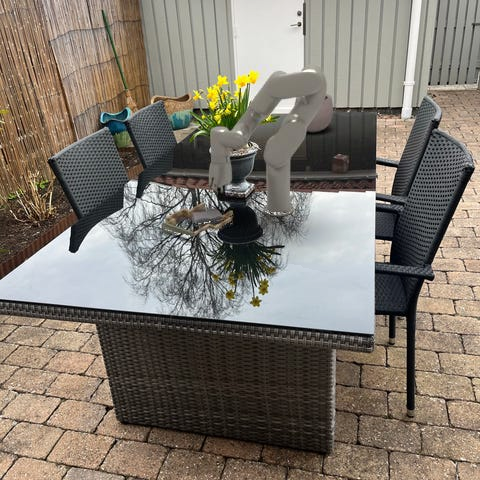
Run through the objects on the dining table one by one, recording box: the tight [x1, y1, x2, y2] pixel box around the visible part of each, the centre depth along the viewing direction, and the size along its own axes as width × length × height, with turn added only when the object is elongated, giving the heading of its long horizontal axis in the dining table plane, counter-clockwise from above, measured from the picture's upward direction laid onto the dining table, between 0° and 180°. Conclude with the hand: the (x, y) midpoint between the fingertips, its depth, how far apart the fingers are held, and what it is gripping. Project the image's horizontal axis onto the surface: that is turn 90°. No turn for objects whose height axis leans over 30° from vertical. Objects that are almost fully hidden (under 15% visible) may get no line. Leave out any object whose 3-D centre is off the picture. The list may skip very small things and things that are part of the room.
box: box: [331, 153, 350, 174], centre depth 234 cm, size 6×6×7 cm
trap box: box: [162, 202, 234, 236], centre depth 190 cm, size 24×23×4 cm
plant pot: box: [293, 93, 334, 133], centre depth 291 cm, size 24×24×30 cm
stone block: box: [191, 208, 223, 228], centre depth 194 cm, size 12×5×10 cm
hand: (221, 199), depth 201 cm, fingers closed
